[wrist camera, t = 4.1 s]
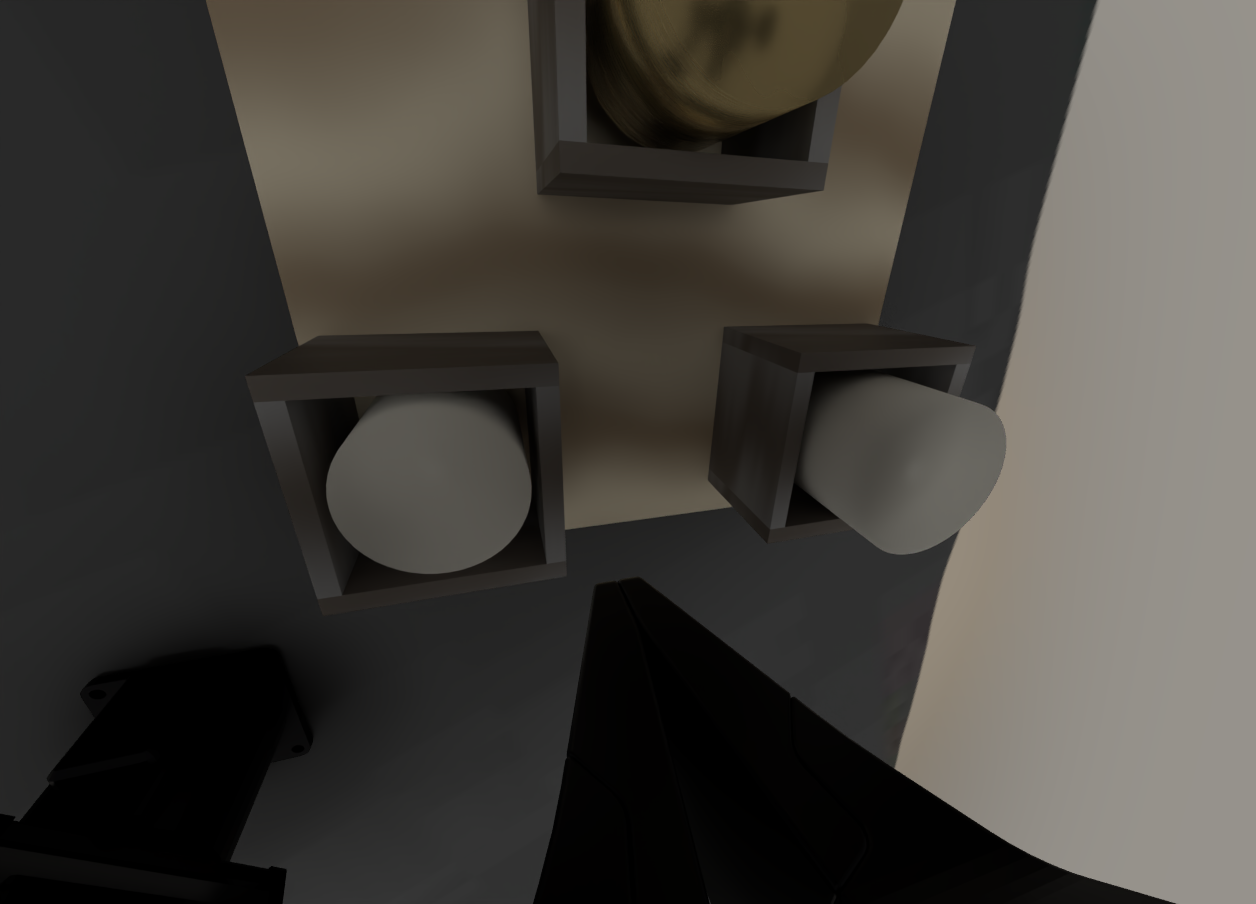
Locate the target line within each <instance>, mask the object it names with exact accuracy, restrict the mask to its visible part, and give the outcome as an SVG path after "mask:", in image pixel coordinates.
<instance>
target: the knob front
mask: <svg viewBox="0 0 1256 904" xmlns="http://www.w3.org/2000/svg"><path fill="white" fill-rule="evenodd" d="M326 497H327V502H328V507H329V511H330V513H331V516H332V519H333V521H334V522H335V524H336V526H337V528H338V530H339V531H340V532H341V533H342V535H343V536H344V537H345V539H346V540H347V541H348V542H349V543H350V544H351V545H352V546H353V547H354V548H356V549H357V550H358V551H360V552H361V553H362V554H364V555H365V556H367V557H369V558H370V559H372V560H374V561H376V562H378V563H380V564H383V565H385V566H387V567H390V568H394V569H397V570H401V571H406V572H411V573H420V574H439V573H449V572H454V571H459V570H463V569H466V568H469V567H472V566H474V565H477V564H479V563H481V562H483V561H485V560H487V559H489V558H491V557H492V556H494V555H495V554H497V553H498V552H499V551H501V550H502V549H503V548H504V547H505V546H506V545H508V544H509V543H510V542H511V540H512V539H513V538H514V537H515V536H516V535H517V533H518V532H519V530H520V528H521V527H522V525H523V523H524V521H525V519H526V517H527V514H528V511H529V507H530V502H531V480H530V474H529V469H528V464H527V458H526V453H525V448H524V443H523V438H522V433H521V428H520V423H519V418H518V414H517V410H516V407H515V405H514V403H513V401H512V399H511V397H510V396H509V394H508V393H507V392H506V390H505V389H494V390H475V391H457V392H438V393H420V394H401V395H383V396H376V397H375V399H374V400H373V402H372V403H371V405H370V406H369V407H368V409H367V410H366V412H365V413H364V414H363V416H362V417H361V419H360V420H359V421H358V423H357V424H356V426H355V427H354V428H353V430H352V431H351V433H350V434H349V435H348V437H347V438H346V440H345V441H344V443H343V444H342V445H341V447H340V448H339V450H338V451H337V453H336V455H335V457H334V459H333V460H332V463H331V466H330V469H329V472H328V476H327V483H326Z"/></svg>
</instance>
